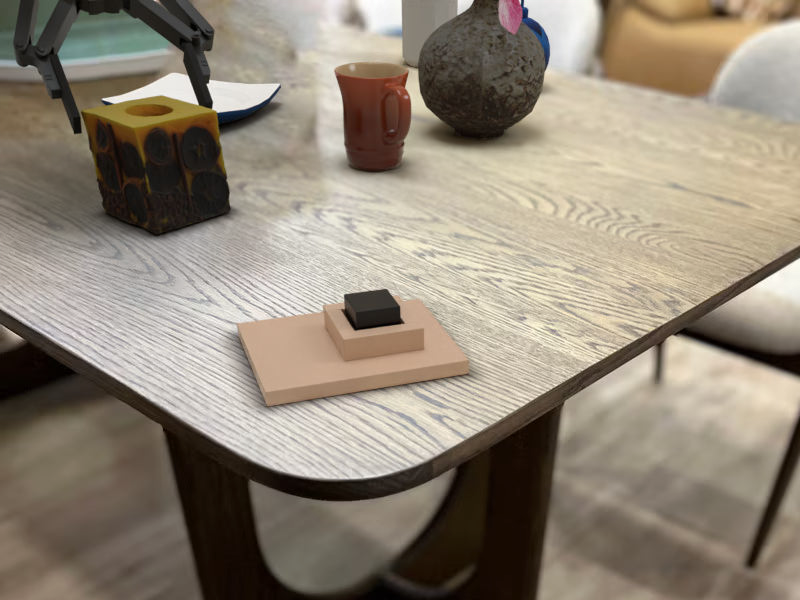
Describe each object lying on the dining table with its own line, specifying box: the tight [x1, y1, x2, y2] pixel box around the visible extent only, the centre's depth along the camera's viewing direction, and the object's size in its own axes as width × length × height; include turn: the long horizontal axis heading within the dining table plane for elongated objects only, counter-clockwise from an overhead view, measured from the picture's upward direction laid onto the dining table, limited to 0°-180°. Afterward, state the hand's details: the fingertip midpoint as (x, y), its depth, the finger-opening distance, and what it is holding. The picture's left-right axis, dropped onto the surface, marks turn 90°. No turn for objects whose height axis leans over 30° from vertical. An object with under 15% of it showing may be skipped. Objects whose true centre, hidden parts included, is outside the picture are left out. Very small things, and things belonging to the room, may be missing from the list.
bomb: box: [520, 0, 551, 72], centre depth 132 cm, size 10×11×15 cm
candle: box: [80, 95, 232, 235], centre depth 88 cm, size 10×10×10 cm
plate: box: [101, 72, 282, 125], centre depth 122 cm, size 20×20×3 cm
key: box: [343, 288, 401, 331], centre depth 66 cm, size 4×4×2 cm
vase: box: [417, 0, 546, 140], centre depth 107 cm, size 17×18×30 cm
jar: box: [401, 0, 459, 68], centre depth 144 cm, size 10×10×18 cm
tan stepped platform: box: [236, 294, 470, 407], centre depth 67 cm, size 16×12×3 cm
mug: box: [333, 61, 412, 172], centre depth 101 cm, size 12×9×10 cm
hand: (145, 118), depth 87 cm, fingers open, 13 cm apart
